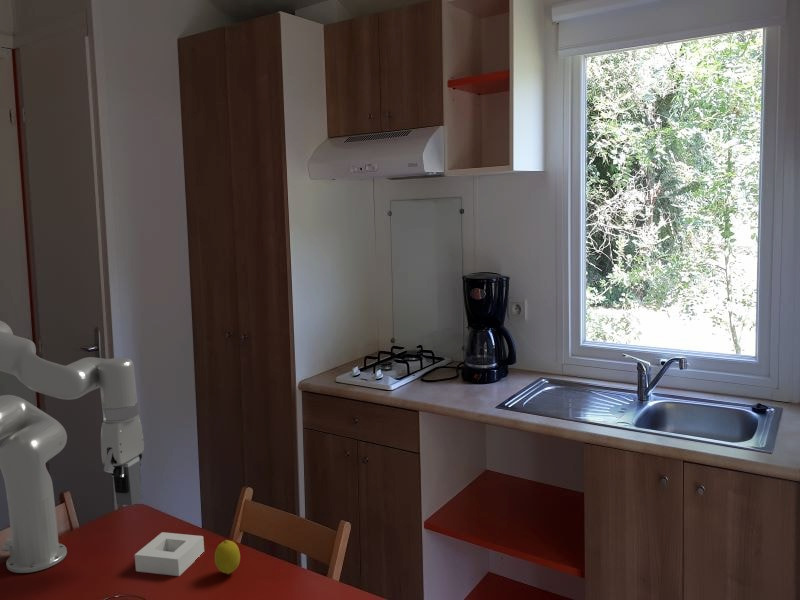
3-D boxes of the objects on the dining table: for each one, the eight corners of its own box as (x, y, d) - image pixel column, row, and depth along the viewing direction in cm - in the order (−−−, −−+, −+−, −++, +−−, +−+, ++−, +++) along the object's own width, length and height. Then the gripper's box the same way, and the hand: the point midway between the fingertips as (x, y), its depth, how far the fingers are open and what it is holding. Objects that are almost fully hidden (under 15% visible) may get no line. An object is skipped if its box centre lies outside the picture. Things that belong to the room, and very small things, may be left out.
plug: (116, 504, 158) (111, 458, 156) (127, 497, 162) (122, 452, 160) (132, 505, 157) (127, 459, 155) (143, 497, 161) (138, 453, 159)
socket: (135, 571, 155) (134, 554, 155) (163, 547, 166) (162, 532, 165) (179, 576, 153) (177, 559, 152) (204, 551, 163) (203, 536, 163)
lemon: (243, 567, 156) (241, 533, 155) (238, 580, 150) (236, 545, 149) (218, 568, 156) (216, 534, 155) (213, 581, 150) (210, 546, 149)
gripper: (128, 401, 165) (135, 473, 168) (81, 423, 149) (90, 502, 152) (156, 402, 164) (163, 475, 166) (111, 424, 147) (120, 504, 150)
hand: (128, 487), depth 159 cm, fingers closed on plug, 4 cm apart
